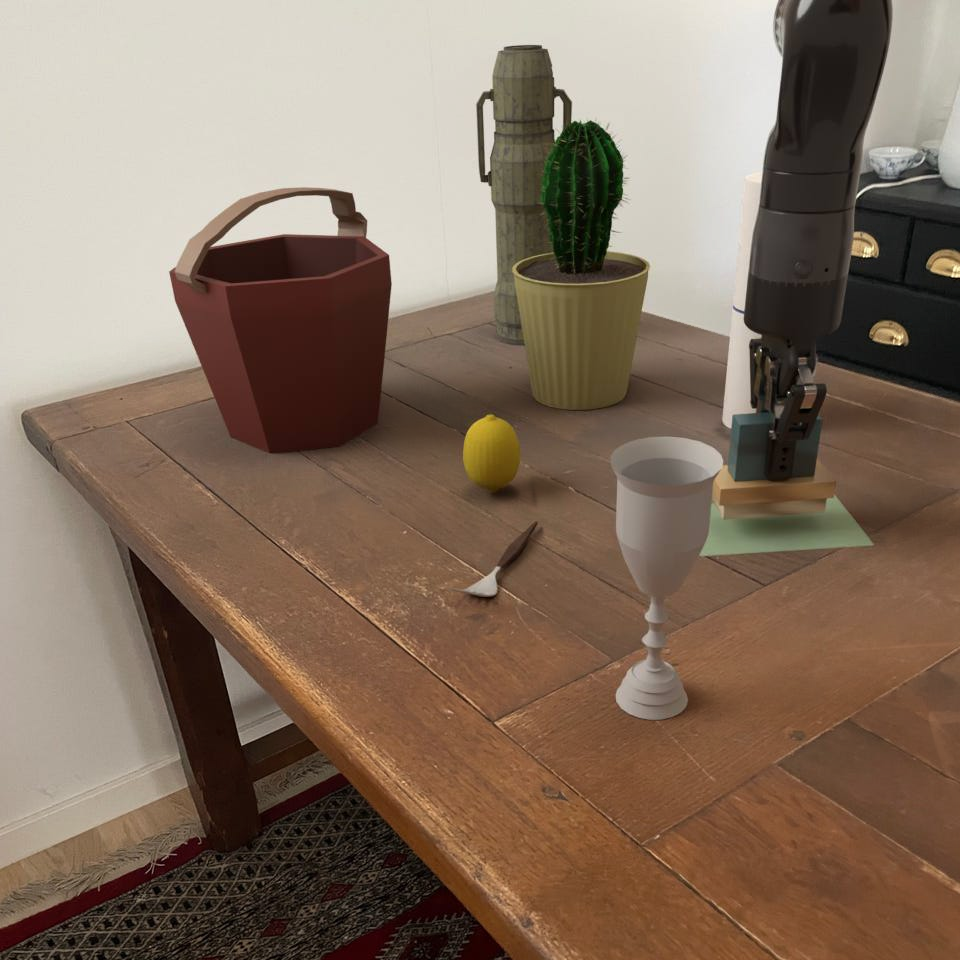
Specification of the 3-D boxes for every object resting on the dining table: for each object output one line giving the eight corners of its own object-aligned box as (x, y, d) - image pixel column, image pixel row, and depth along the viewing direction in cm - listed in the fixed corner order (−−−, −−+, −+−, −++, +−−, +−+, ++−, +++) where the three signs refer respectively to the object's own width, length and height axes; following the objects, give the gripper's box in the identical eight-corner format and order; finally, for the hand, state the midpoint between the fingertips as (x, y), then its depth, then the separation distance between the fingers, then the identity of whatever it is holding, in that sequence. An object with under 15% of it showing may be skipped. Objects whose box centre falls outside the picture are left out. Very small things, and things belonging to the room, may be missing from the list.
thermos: (574, 342, 139) (577, 46, 120) (488, 347, 139) (477, 51, 120) (565, 323, 147) (566, 41, 128) (483, 328, 146) (472, 46, 127)
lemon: (480, 477, 104) (476, 401, 100) (530, 485, 102) (528, 408, 98) (455, 499, 100) (450, 421, 96) (506, 508, 98) (504, 429, 94)
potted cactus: (509, 416, 118) (501, 127, 101) (520, 372, 130) (515, 108, 114) (644, 417, 116) (659, 122, 99) (643, 371, 128) (655, 103, 112)
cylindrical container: (711, 426, 113) (732, 181, 99) (737, 405, 117) (761, 169, 104) (774, 438, 109) (805, 186, 95) (798, 416, 114) (831, 173, 100)
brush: (813, 490, 93) (826, 402, 89) (831, 513, 89) (845, 423, 85) (704, 497, 93) (711, 410, 88) (717, 521, 89) (725, 431, 84)
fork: (550, 528, 94) (550, 509, 93) (480, 615, 82) (478, 594, 81) (524, 524, 95) (524, 505, 94) (450, 609, 83) (449, 588, 82)
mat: (834, 498, 97) (835, 494, 96) (874, 549, 88) (874, 545, 88) (666, 509, 96) (666, 505, 96) (690, 560, 88) (690, 556, 88)
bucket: (358, 376, 131) (335, 164, 118) (449, 427, 116) (434, 189, 102) (174, 422, 121) (124, 195, 107) (246, 484, 105) (199, 227, 91)
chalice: (700, 733, 68) (724, 487, 59) (598, 725, 70) (605, 483, 60) (700, 671, 74) (722, 438, 65) (606, 664, 76) (614, 434, 66)
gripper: (879, 287, 74) (842, 504, 84) (817, 243, 86) (790, 438, 95) (777, 292, 74) (751, 509, 83) (728, 248, 85) (710, 443, 95)
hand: (772, 470), depth 89 cm, fingers closed on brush, 2 cm apart
